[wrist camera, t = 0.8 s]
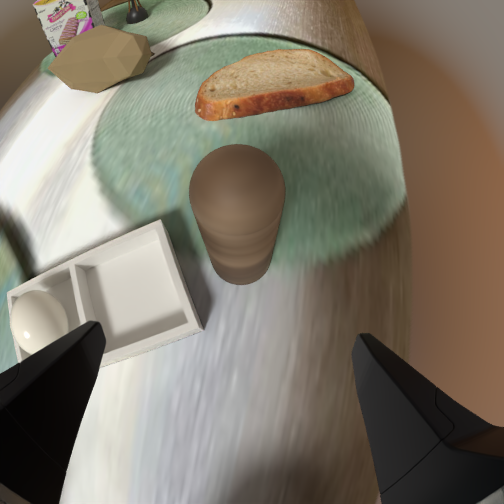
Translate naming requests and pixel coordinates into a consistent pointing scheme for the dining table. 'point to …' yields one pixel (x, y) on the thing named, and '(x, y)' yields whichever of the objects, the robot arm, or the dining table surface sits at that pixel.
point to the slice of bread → (270, 84)
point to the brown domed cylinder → (238, 210)
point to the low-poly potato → (101, 58)
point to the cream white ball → (37, 320)
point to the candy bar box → (67, 19)
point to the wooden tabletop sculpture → (136, 13)
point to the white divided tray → (123, 293)
